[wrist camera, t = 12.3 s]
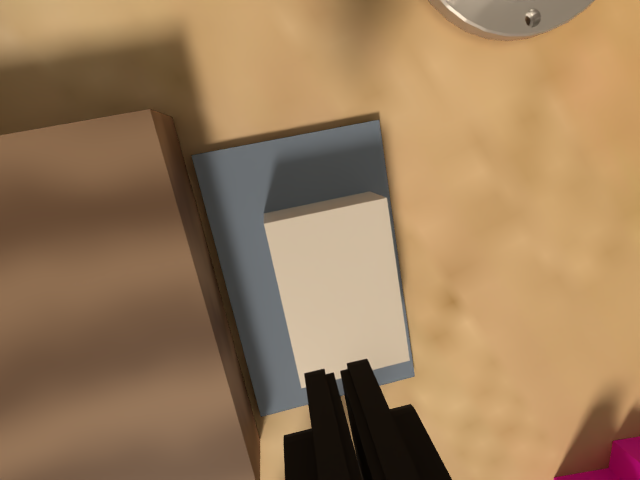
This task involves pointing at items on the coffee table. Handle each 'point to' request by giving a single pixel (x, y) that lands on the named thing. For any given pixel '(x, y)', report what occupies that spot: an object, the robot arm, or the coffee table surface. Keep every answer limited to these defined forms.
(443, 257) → the coffee table surface
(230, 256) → the mat
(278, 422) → the coffee table surface
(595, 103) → the coffee table surface
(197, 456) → the deck
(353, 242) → the beige rectangular block
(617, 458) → the toy block
